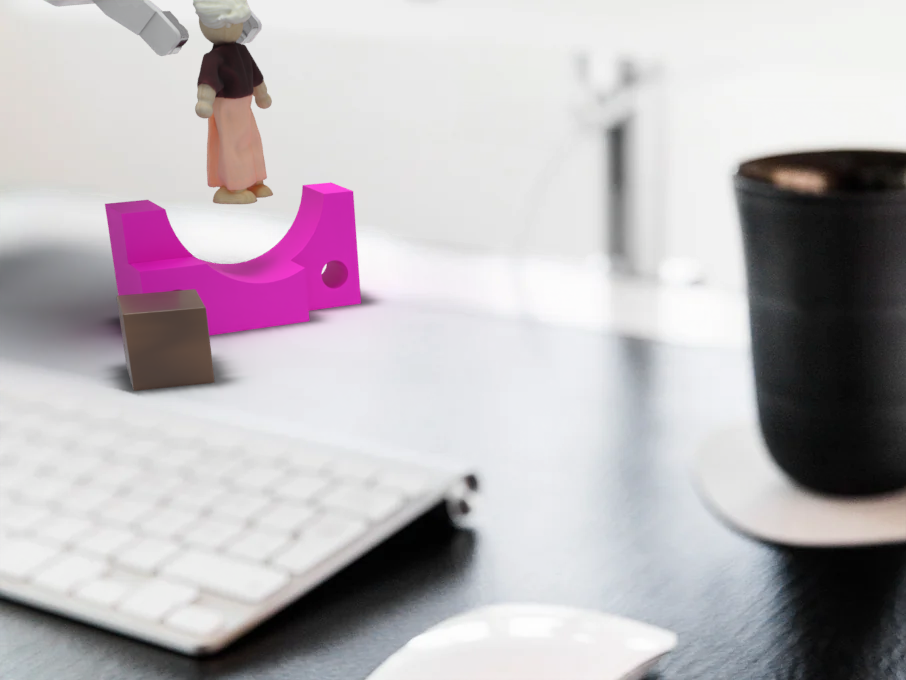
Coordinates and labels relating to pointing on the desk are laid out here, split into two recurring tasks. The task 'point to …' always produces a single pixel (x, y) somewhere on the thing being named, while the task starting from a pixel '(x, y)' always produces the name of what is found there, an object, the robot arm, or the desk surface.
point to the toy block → (245, 263)
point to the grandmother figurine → (231, 104)
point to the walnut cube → (165, 339)
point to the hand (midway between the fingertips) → (216, 41)
